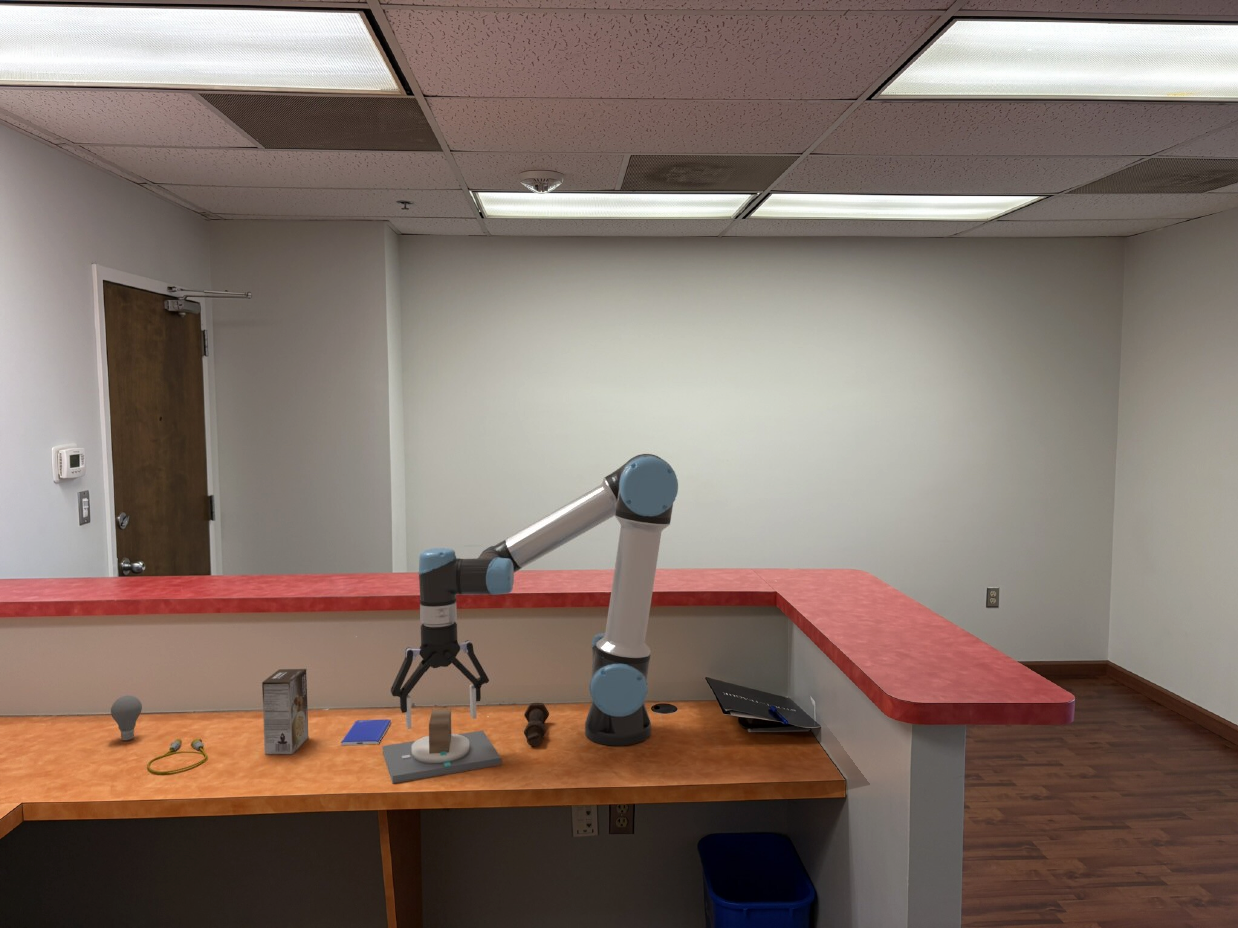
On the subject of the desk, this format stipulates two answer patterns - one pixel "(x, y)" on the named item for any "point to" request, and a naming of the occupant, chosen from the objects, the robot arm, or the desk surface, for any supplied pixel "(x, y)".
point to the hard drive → (366, 732)
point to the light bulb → (126, 715)
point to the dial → (440, 741)
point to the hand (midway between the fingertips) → (441, 721)
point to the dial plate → (411, 769)
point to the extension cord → (174, 746)
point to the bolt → (535, 723)
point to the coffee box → (285, 711)
